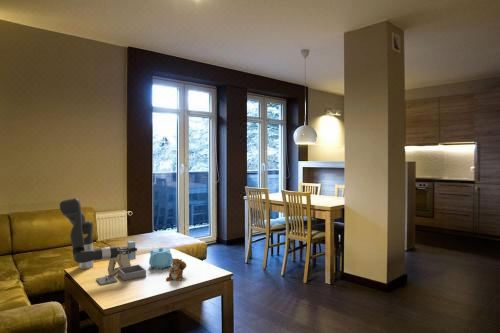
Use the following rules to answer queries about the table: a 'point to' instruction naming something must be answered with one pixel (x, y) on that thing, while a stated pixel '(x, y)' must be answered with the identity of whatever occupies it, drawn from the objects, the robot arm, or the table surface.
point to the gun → (121, 261)
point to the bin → (131, 272)
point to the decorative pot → (160, 258)
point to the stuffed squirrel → (176, 270)
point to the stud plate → (106, 280)
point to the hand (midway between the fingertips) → (135, 248)
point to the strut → (133, 254)
